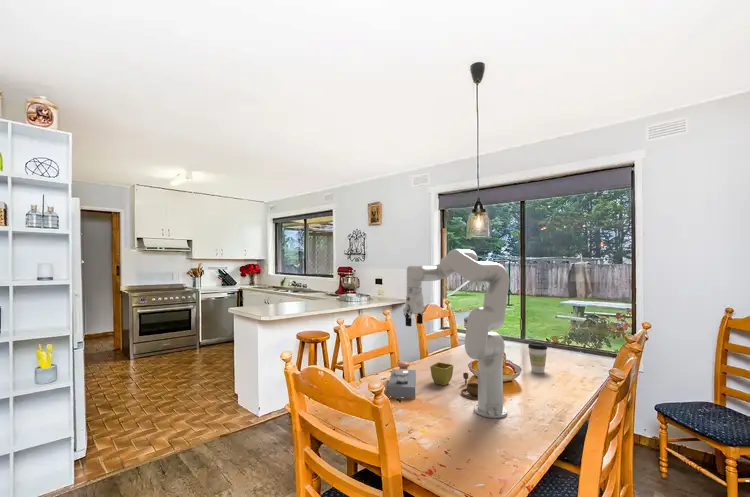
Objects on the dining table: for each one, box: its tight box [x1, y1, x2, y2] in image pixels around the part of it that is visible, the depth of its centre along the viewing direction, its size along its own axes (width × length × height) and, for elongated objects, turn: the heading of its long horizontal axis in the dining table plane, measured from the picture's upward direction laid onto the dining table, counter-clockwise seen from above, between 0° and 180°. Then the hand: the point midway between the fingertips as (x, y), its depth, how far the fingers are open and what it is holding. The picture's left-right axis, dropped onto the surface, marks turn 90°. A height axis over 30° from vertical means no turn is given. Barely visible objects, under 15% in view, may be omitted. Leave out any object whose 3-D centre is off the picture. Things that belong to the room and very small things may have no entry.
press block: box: [387, 368, 417, 399], centre depth 169 cm, size 26×12×5 cm, turn 173°
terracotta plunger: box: [397, 360, 410, 370], centre depth 176 cm, size 6×6×6 cm
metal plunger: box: [396, 368, 409, 384], centre depth 162 cm, size 6×6×6 cm
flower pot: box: [429, 361, 454, 386], centre depth 175 cm, size 9×9×9 cm
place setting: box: [460, 372, 478, 401], centre depth 164 cm, size 18×20×6 cm
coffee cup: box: [527, 342, 548, 374], centre depth 196 cm, size 10×10×15 cm
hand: (414, 324), depth 177 cm, fingers open, 9 cm apart
